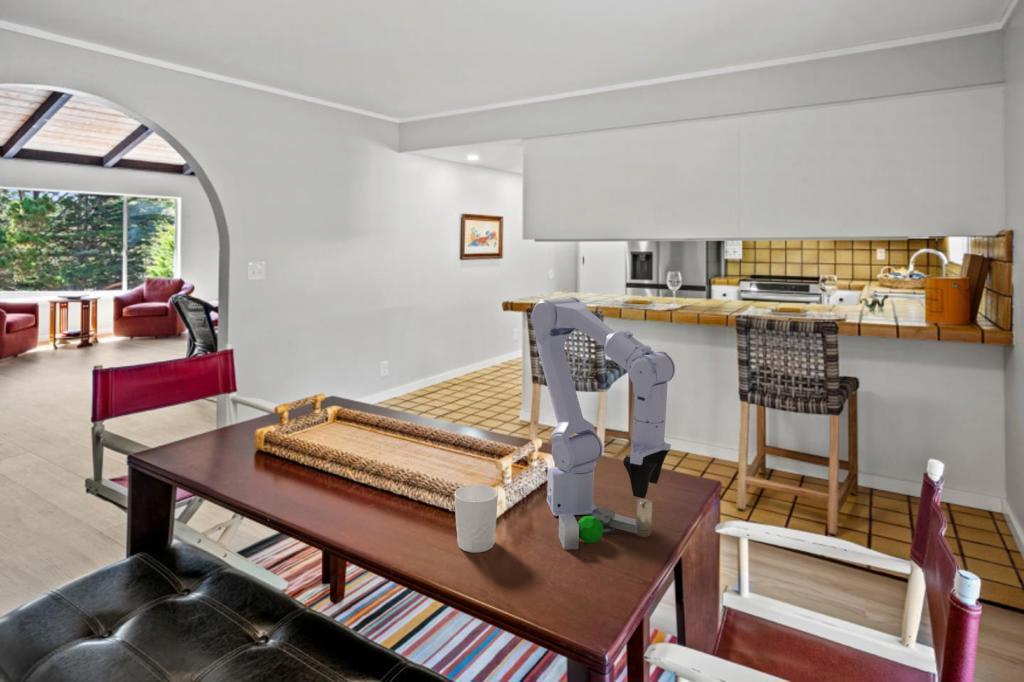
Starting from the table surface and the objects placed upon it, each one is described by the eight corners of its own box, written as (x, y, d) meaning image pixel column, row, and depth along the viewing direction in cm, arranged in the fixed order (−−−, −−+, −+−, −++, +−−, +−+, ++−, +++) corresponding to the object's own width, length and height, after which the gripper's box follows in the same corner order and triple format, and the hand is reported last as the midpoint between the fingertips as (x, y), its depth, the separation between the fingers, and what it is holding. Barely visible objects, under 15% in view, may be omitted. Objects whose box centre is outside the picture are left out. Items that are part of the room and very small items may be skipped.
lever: (588, 524, 118) (589, 493, 117) (597, 515, 122) (598, 486, 121) (646, 539, 112) (647, 508, 111) (654, 530, 116) (655, 499, 115)
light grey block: (564, 549, 111) (564, 526, 110) (558, 536, 116) (559, 514, 115) (578, 548, 111) (579, 525, 111) (571, 535, 116) (572, 513, 116)
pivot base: (594, 535, 117) (594, 530, 117) (588, 524, 121) (588, 519, 121) (618, 533, 117) (618, 528, 117) (610, 522, 122) (611, 518, 122)
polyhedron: (580, 549, 111) (581, 524, 111) (572, 536, 116) (573, 512, 115) (606, 546, 112) (607, 522, 112) (597, 534, 117) (598, 510, 116)
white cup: (497, 533, 117) (497, 484, 115) (497, 554, 109) (498, 501, 107) (455, 533, 117) (455, 484, 115) (453, 555, 109) (453, 502, 107)
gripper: (660, 433, 103) (655, 508, 106) (681, 412, 116) (677, 480, 118) (620, 426, 107) (616, 499, 109) (644, 406, 119) (641, 473, 122)
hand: (645, 489), depth 114 cm, fingers open, 7 cm apart
